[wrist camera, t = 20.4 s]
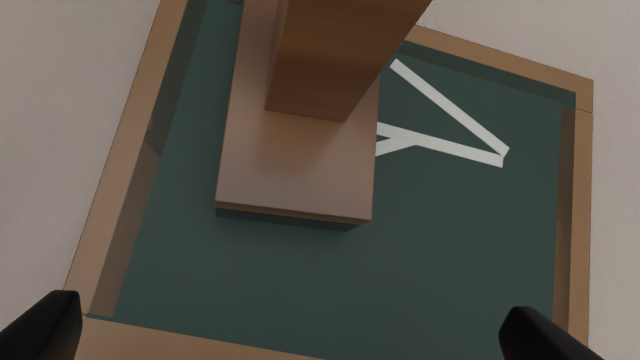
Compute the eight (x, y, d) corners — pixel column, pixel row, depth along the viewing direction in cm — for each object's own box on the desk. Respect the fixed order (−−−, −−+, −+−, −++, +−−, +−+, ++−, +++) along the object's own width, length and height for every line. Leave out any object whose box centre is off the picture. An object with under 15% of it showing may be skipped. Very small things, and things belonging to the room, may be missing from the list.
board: (569, 446, 20) (588, 455, 19) (46, 364, 16) (35, 368, 15) (579, 87, 25) (595, 79, 24) (179, -36, 21) (177, -53, 20)
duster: (348, 232, 19) (532, 145, 8) (215, 216, 18) (201, 89, 7) (363, 7, 22) (514, -299, 10) (250, -17, 21) (281, -384, 9)
